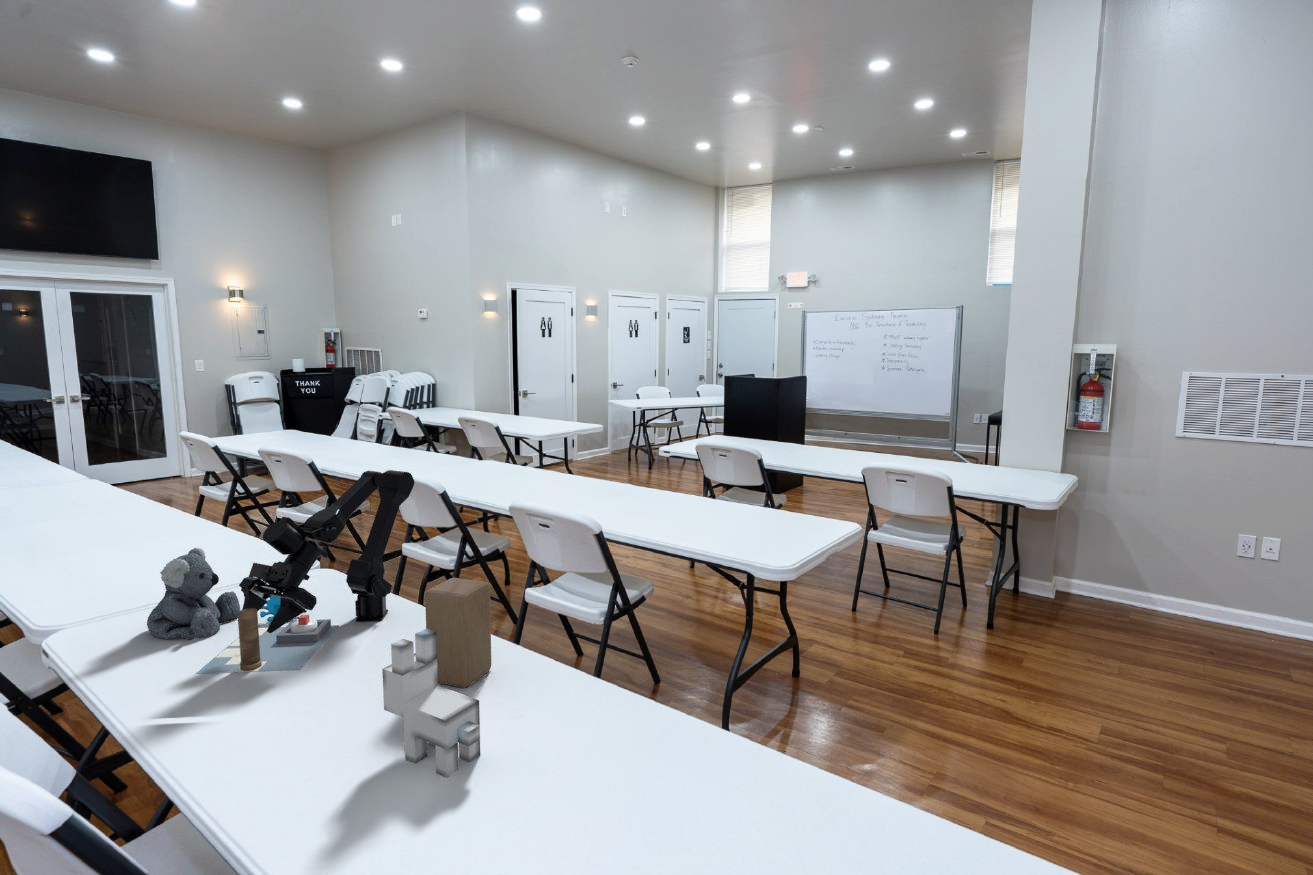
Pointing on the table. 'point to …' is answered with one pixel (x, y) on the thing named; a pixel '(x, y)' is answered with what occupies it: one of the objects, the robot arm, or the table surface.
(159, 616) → the koala plush
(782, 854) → the table surface
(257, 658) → the brown wooden cylinder
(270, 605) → the blue spiky piece
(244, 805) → the table surface
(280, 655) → the board
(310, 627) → the dome button
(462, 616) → the block
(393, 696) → the toy llama
